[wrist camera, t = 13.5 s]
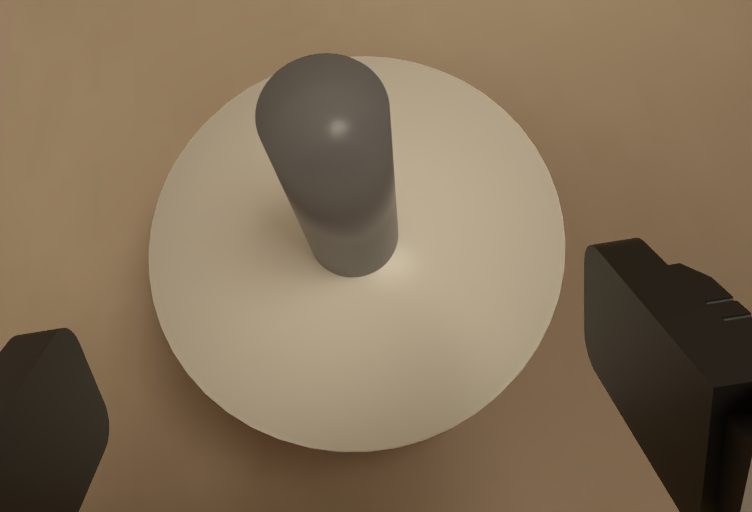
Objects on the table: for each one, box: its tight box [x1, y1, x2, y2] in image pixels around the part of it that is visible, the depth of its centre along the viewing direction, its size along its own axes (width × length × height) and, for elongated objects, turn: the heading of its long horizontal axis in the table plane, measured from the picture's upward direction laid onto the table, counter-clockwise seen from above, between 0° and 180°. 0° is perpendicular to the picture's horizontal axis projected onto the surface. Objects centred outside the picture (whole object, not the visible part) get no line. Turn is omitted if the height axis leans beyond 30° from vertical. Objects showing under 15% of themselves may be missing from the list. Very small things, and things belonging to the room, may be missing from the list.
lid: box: [149, 53, 565, 452], centre depth 19 cm, size 14×14×9 cm
